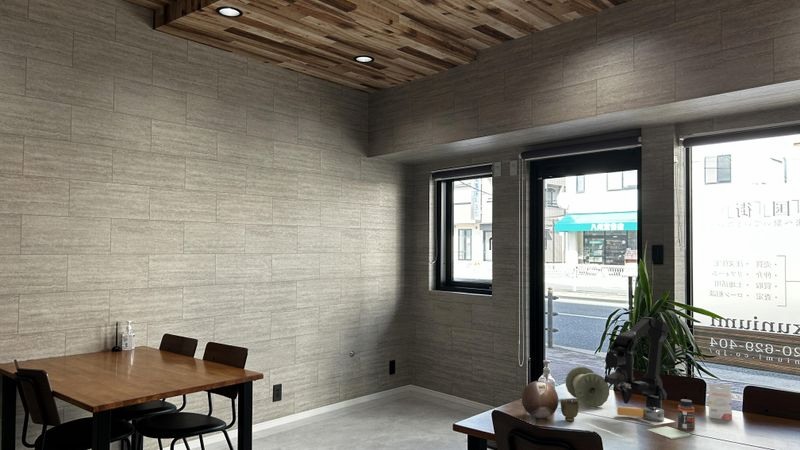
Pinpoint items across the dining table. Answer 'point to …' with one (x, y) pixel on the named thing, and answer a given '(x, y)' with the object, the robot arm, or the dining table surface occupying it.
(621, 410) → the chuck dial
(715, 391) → the ink cartridge box
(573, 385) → the spool
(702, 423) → the dining table surface
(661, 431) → the green pad
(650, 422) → the dial plate
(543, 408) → the wooden sphere
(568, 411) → the cup
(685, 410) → the supplement bottle
